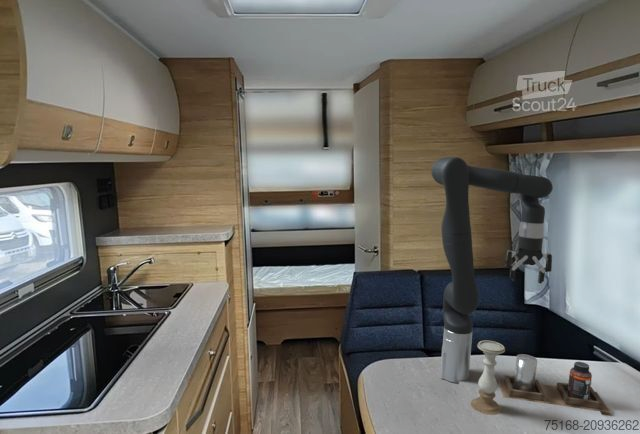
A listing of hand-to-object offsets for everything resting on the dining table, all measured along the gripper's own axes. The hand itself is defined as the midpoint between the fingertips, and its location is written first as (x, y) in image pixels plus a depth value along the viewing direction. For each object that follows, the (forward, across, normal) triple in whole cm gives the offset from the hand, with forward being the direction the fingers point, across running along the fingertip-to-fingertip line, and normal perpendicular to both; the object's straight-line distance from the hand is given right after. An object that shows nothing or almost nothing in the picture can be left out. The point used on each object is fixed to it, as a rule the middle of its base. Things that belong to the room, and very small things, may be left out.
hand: (526, 281), depth 152 cm
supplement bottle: (+32, +15, -15) cm, 39 cm away
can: (+32, -1, -15) cm, 35 cm away
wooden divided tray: (+33, +7, -15) cm, 37 cm away
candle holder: (+33, -14, -28) cm, 46 cm away
